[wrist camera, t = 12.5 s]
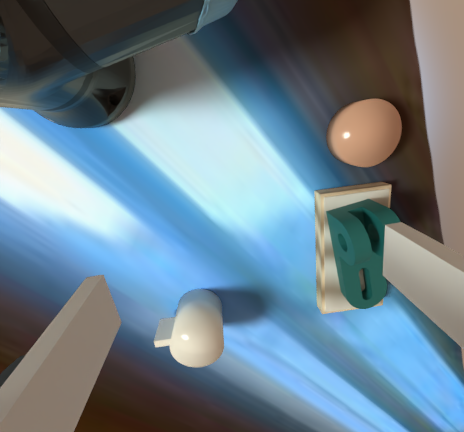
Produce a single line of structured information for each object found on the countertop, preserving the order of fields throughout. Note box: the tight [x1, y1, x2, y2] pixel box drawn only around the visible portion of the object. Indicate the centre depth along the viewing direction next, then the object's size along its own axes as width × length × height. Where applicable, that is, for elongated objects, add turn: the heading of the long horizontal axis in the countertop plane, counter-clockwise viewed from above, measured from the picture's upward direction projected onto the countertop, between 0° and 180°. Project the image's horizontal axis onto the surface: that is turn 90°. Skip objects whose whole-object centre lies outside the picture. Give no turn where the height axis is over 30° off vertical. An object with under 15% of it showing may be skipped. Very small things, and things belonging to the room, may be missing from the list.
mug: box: [154, 289, 224, 367], centre depth 44 cm, size 8×11×9 cm
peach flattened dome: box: [326, 99, 402, 167], centre depth 38 cm, size 9×9×4 cm
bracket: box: [326, 199, 400, 309], centre depth 40 cm, size 18×7×8 cm, turn 16°
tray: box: [315, 182, 391, 314], centre depth 45 cm, size 22×11×3 cm, turn 7°
